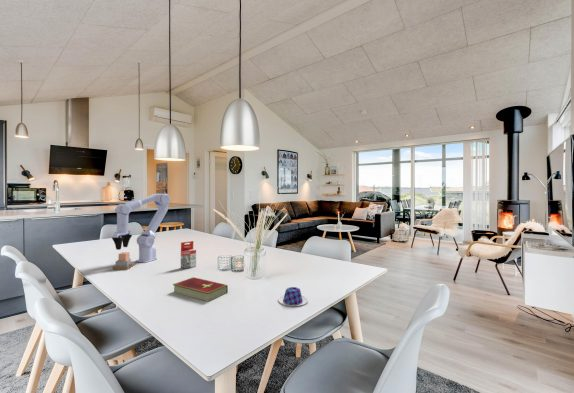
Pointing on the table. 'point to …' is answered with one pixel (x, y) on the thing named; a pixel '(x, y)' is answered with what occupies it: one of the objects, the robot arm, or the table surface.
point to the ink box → (188, 255)
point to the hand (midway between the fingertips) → (122, 248)
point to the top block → (122, 263)
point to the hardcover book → (200, 288)
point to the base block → (123, 267)
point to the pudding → (293, 297)
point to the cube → (124, 256)
